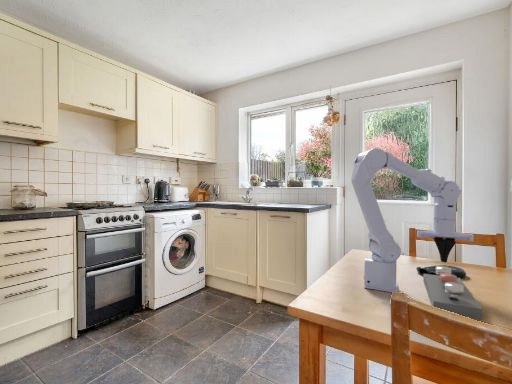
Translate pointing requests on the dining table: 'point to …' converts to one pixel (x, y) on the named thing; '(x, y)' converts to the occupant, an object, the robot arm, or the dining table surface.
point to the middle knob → (447, 278)
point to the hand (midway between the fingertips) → (443, 261)
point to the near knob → (454, 289)
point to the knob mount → (442, 299)
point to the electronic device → (427, 270)
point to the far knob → (443, 270)
